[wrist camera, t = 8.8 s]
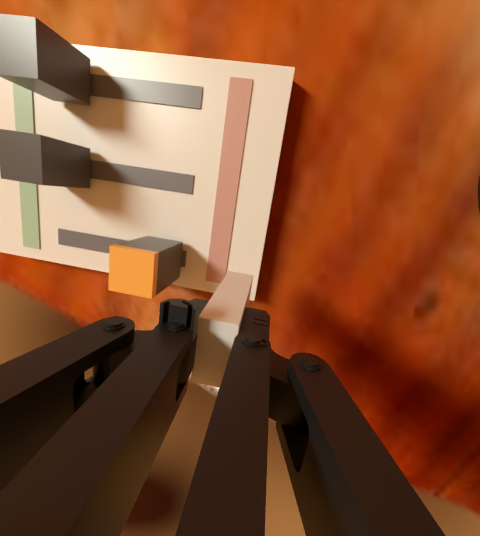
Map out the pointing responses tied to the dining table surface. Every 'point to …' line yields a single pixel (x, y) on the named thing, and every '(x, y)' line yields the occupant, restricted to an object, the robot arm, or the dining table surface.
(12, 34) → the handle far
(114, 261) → the handle
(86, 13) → the dining table surface
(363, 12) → the dining table surface
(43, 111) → the panel
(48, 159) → the handle middle
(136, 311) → the dining table surface
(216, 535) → the robot arm
